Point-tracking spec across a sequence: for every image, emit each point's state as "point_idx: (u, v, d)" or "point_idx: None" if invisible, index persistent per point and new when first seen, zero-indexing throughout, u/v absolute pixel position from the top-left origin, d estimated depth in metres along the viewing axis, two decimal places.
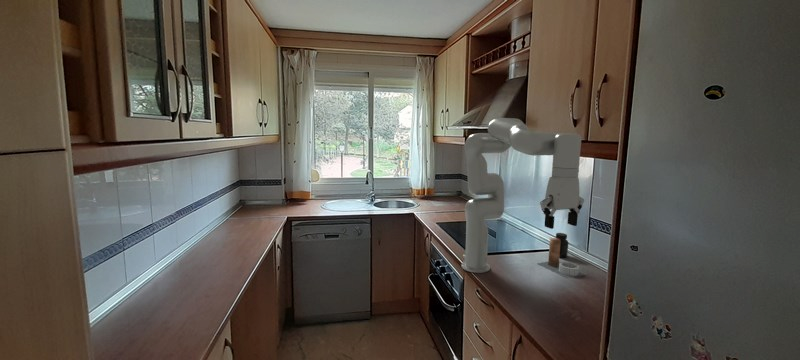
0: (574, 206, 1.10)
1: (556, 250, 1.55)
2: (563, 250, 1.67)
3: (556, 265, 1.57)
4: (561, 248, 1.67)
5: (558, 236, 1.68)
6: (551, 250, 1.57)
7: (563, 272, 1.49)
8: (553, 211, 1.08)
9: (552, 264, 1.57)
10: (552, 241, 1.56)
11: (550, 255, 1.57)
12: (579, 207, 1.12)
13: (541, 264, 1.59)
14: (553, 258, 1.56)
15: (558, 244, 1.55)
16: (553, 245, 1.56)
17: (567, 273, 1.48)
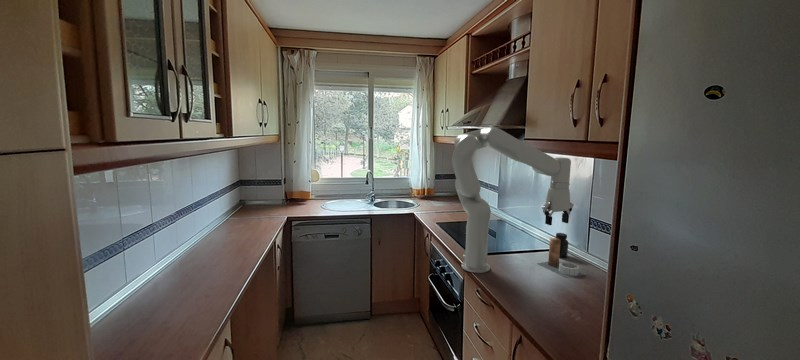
0: (566, 209, 1.54)
1: (556, 250, 1.55)
2: (563, 250, 1.67)
3: (556, 265, 1.57)
4: (561, 248, 1.67)
5: (558, 236, 1.68)
6: (551, 250, 1.57)
7: (563, 272, 1.49)
8: (551, 213, 1.52)
9: (552, 264, 1.57)
10: (552, 241, 1.56)
11: (550, 255, 1.57)
12: (570, 210, 1.57)
13: (541, 264, 1.59)
14: (553, 258, 1.56)
15: (558, 244, 1.55)
16: (553, 245, 1.56)
17: (567, 273, 1.48)
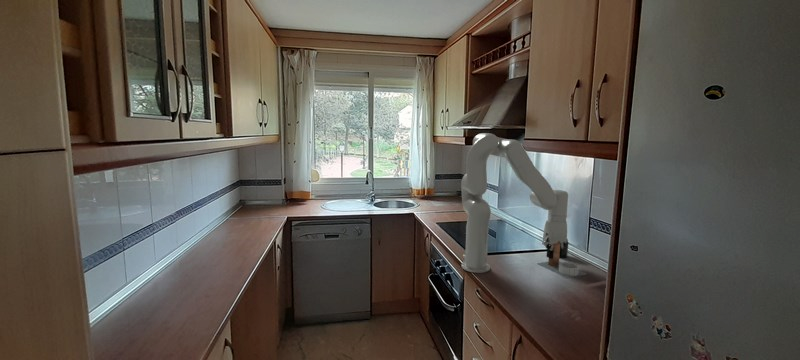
0: (563, 241, 1.56)
1: (556, 250, 1.55)
2: (563, 250, 1.67)
3: (556, 265, 1.57)
4: None
5: None
6: None
7: (563, 272, 1.49)
8: (552, 246, 1.55)
9: (552, 264, 1.57)
10: None
11: None
12: (563, 244, 1.58)
13: (541, 264, 1.59)
14: (553, 258, 1.56)
15: (558, 244, 1.55)
16: None
17: (567, 273, 1.48)
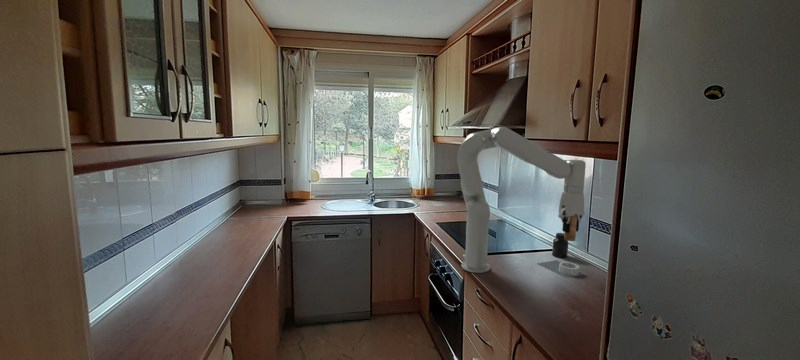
0: (580, 213, 1.48)
1: (573, 223, 1.47)
2: (563, 250, 1.67)
3: (573, 239, 1.48)
4: (561, 248, 1.67)
5: (558, 236, 1.68)
6: None
7: (563, 272, 1.49)
8: (568, 219, 1.46)
9: (569, 238, 1.48)
10: None
11: None
12: (580, 217, 1.49)
13: (541, 264, 1.59)
14: (570, 231, 1.47)
15: (575, 217, 1.46)
16: (570, 218, 1.47)
17: (567, 273, 1.48)
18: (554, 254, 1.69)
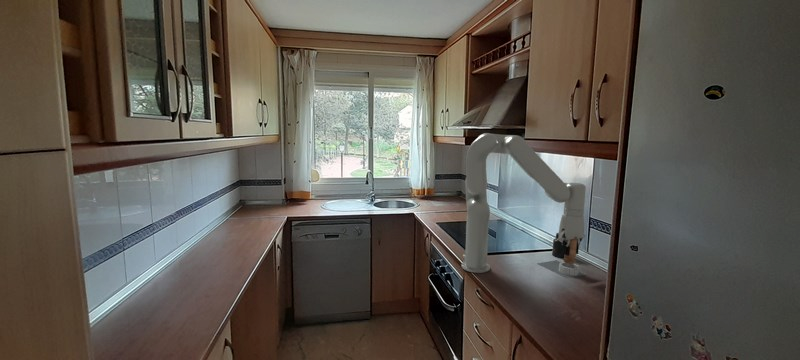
0: (580, 236, 1.48)
1: (573, 246, 1.47)
2: None
3: (573, 262, 1.48)
4: (561, 248, 1.67)
5: (558, 236, 1.68)
6: None
7: (563, 272, 1.49)
8: (568, 242, 1.47)
9: (568, 261, 1.48)
10: None
11: None
12: (580, 240, 1.50)
13: (541, 264, 1.59)
14: (570, 254, 1.48)
15: (575, 240, 1.47)
16: (570, 241, 1.47)
17: (567, 273, 1.48)
18: (554, 254, 1.69)
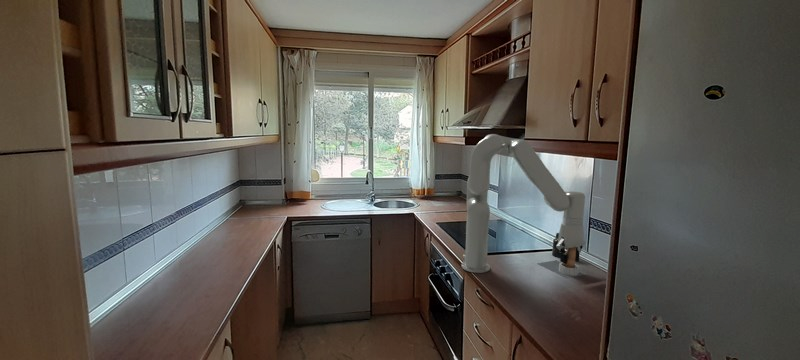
0: (579, 245, 1.48)
1: (571, 256, 1.48)
2: None
3: None
4: None
5: (558, 236, 1.68)
6: None
7: (563, 272, 1.49)
8: (566, 250, 1.47)
9: None
10: None
11: None
12: (580, 247, 1.51)
13: (541, 264, 1.59)
14: (569, 264, 1.48)
15: (574, 250, 1.47)
16: (568, 251, 1.48)
17: (567, 273, 1.48)
18: (554, 254, 1.69)
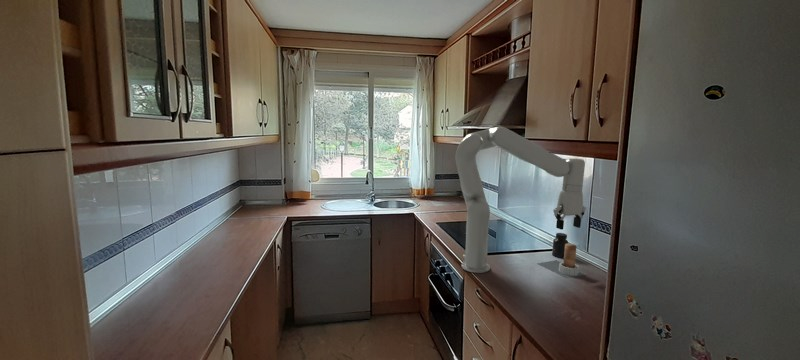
0: (578, 213, 1.47)
1: (572, 256, 1.48)
2: (563, 250, 1.67)
3: None
4: (561, 248, 1.67)
5: (558, 236, 1.68)
6: (566, 256, 1.49)
7: (563, 272, 1.49)
8: (563, 216, 1.45)
9: None
10: (567, 247, 1.48)
11: (565, 262, 1.49)
12: (582, 213, 1.49)
13: (541, 264, 1.59)
14: (569, 264, 1.48)
15: (574, 250, 1.47)
16: (569, 251, 1.48)
17: (567, 273, 1.48)
18: (554, 254, 1.69)
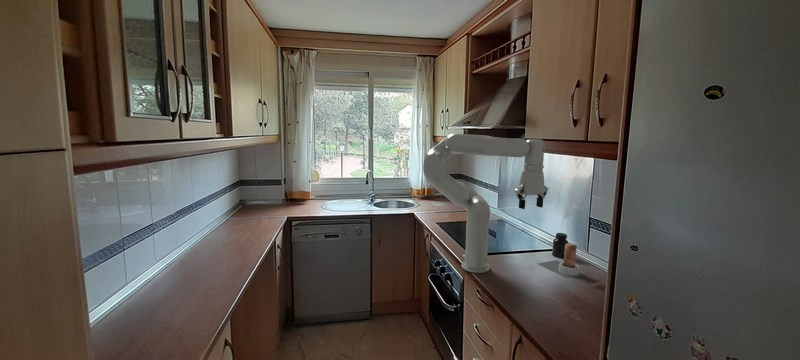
0: (540, 192, 1.49)
1: (572, 256, 1.47)
2: (563, 250, 1.67)
3: None
4: (561, 248, 1.67)
5: (558, 236, 1.68)
6: (566, 257, 1.49)
7: (563, 272, 1.49)
8: (524, 196, 1.47)
9: None
10: (568, 247, 1.48)
11: (565, 262, 1.49)
12: (544, 193, 1.52)
13: (541, 264, 1.59)
14: (569, 265, 1.48)
15: (574, 250, 1.47)
16: (569, 251, 1.48)
17: (567, 273, 1.48)
18: (554, 254, 1.69)
